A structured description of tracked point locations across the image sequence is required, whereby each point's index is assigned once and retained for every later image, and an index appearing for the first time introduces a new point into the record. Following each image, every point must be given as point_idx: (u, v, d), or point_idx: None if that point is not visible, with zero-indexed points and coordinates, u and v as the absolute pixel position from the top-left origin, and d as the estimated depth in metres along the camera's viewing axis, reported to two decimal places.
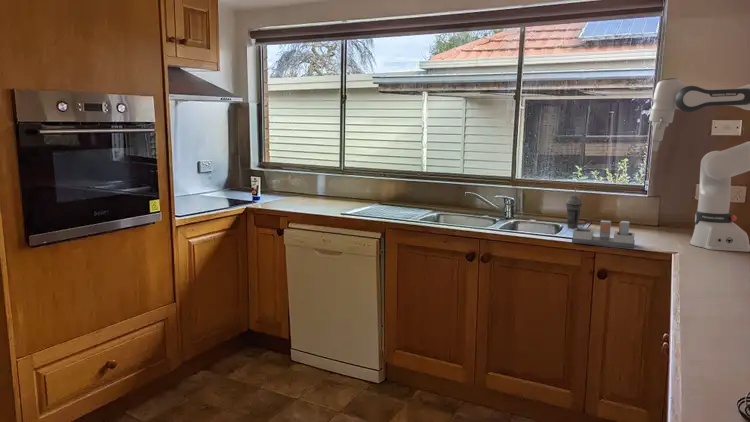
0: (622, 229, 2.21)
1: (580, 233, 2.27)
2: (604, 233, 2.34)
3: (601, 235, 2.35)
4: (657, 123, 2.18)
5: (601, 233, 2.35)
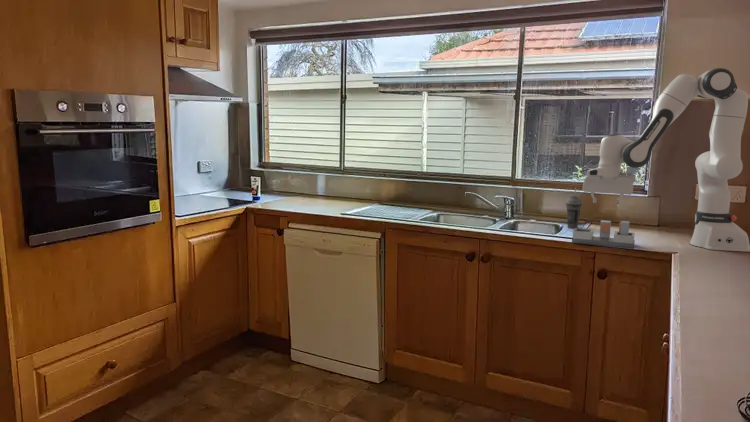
0: (622, 229, 2.21)
1: (580, 233, 2.27)
2: (604, 233, 2.34)
3: (601, 235, 2.35)
4: (631, 178, 2.27)
5: (601, 233, 2.35)
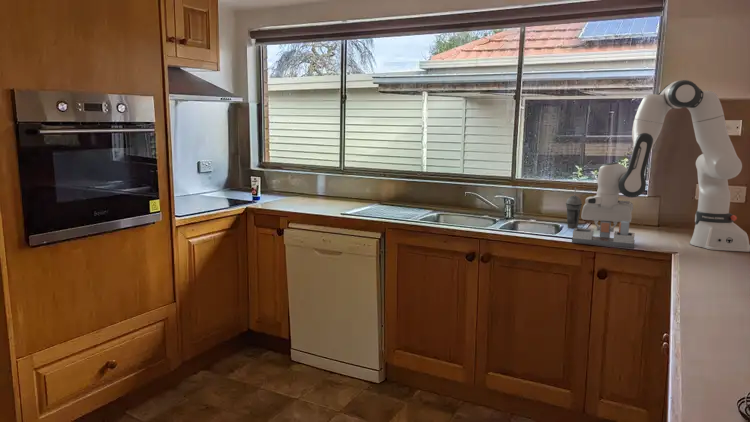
0: (622, 229, 2.21)
1: (580, 233, 2.27)
2: (604, 233, 2.34)
3: (601, 235, 2.35)
4: (629, 207, 2.28)
5: (601, 233, 2.35)
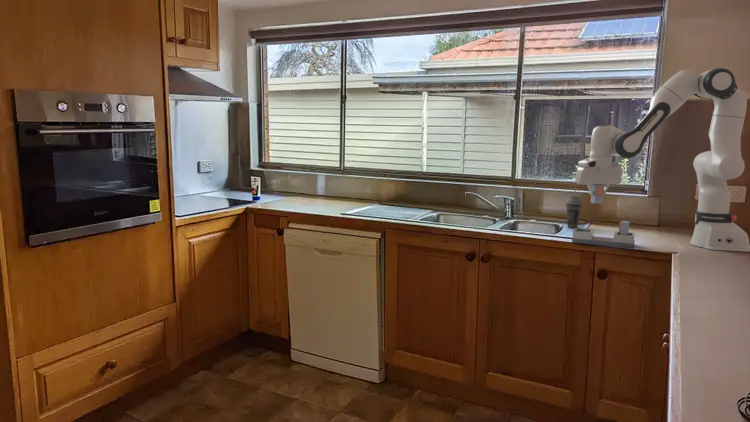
0: (622, 229, 2.21)
1: (580, 233, 2.27)
2: (599, 197, 2.30)
3: (596, 199, 2.30)
4: None
5: (596, 197, 2.30)
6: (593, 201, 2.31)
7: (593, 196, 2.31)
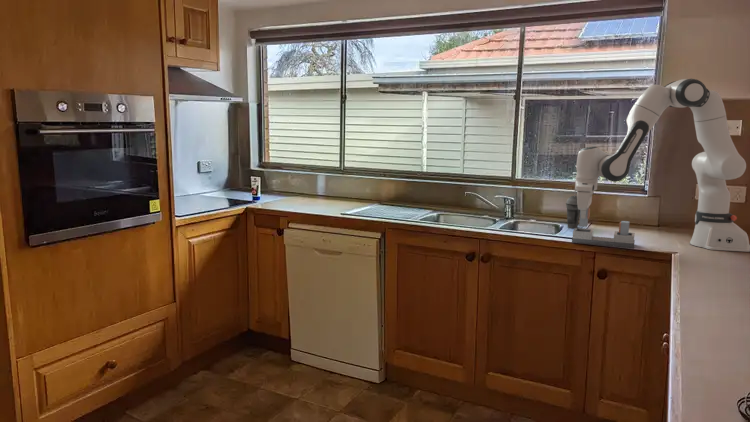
0: (622, 229, 2.21)
1: (580, 233, 2.27)
2: (587, 219, 2.28)
3: (587, 222, 2.27)
4: None
5: (587, 220, 2.27)
6: (584, 224, 2.27)
7: (583, 219, 2.27)
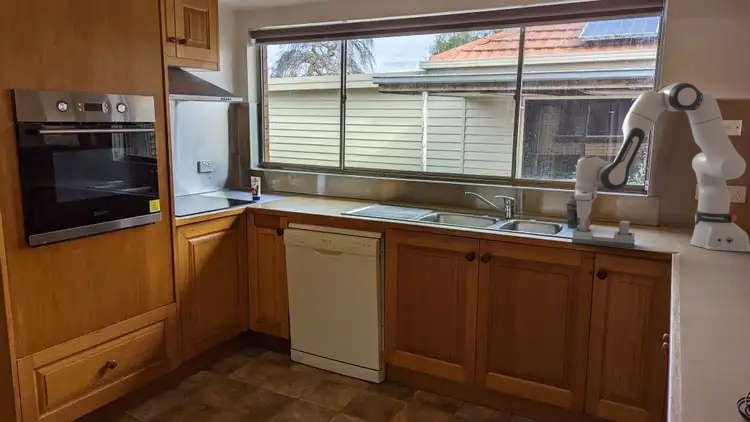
0: (622, 229, 2.21)
1: (580, 233, 2.27)
2: (587, 231, 2.29)
3: None
4: None
5: (586, 231, 2.28)
6: None
7: (583, 231, 2.28)
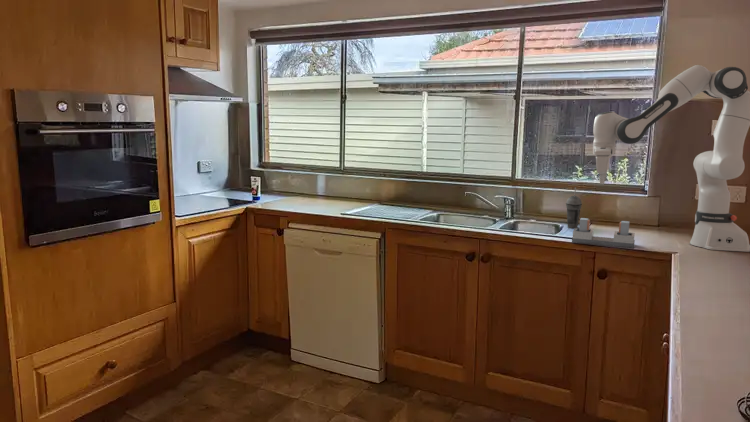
0: (622, 229, 2.21)
1: (580, 233, 2.27)
2: (587, 231, 2.29)
3: None
4: None
5: (586, 231, 2.28)
6: None
7: (583, 231, 2.28)
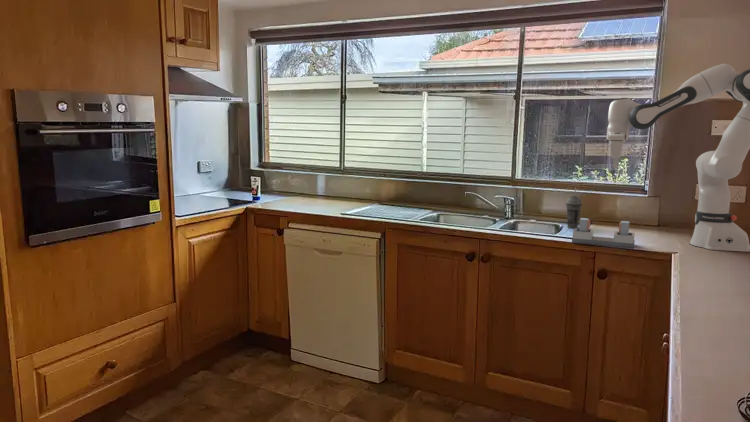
0: (622, 229, 2.21)
1: (580, 233, 2.27)
2: (587, 231, 2.29)
3: None
4: None
5: (586, 231, 2.28)
6: None
7: (583, 231, 2.28)
